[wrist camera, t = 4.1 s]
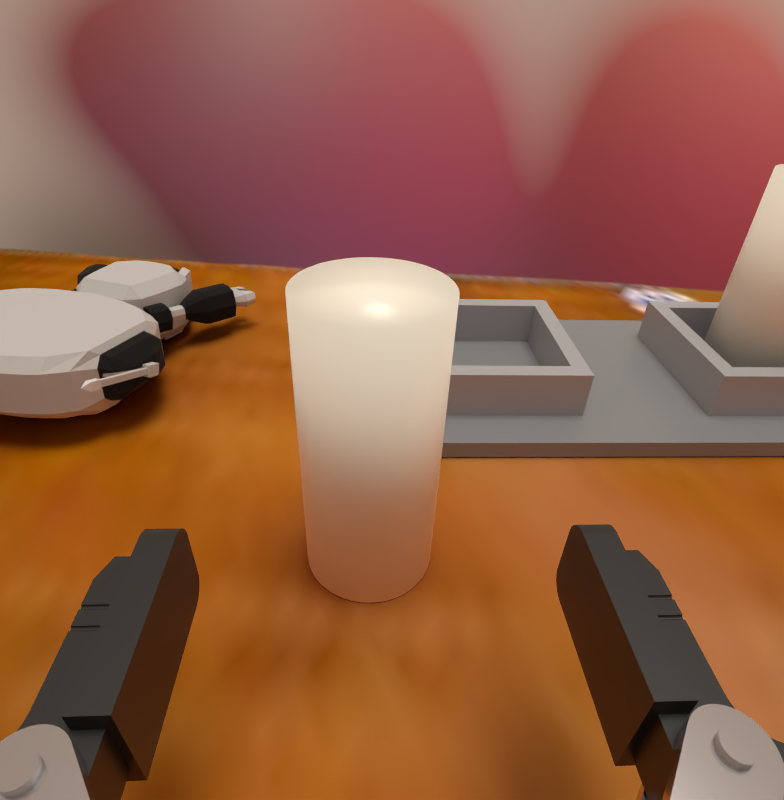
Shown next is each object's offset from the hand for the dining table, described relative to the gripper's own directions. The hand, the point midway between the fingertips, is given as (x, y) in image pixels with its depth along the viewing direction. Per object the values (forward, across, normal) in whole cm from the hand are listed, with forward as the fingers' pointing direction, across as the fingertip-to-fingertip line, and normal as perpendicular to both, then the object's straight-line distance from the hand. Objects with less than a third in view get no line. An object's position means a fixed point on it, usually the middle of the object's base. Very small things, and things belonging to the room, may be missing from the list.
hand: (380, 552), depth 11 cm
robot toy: (+18, +14, +7) cm, 24 cm away
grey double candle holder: (+16, -13, +6) cm, 22 cm away
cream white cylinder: (+5, 0, +6) cm, 8 cm away
